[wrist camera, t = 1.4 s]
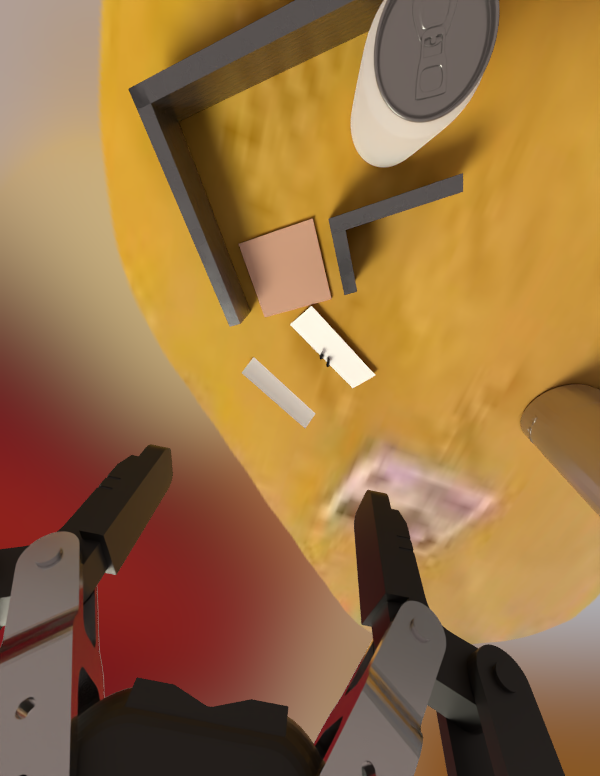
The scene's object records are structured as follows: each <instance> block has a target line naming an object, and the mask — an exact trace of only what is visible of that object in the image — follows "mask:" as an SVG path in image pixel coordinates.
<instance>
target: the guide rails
mask: <svg viewBox="0 0 600 776" xmlns="http://www.w3.org/2000/svg"><path fill="white" fill-rule="evenodd" d="M382 2H383V0H295V1H293V2H291V3H289V4H287V5H285V6H284V7H282V8H280V9H278V10H276V11H274V12H272V13H270V14H268V15H267V16H265V17H263V18H261V19H259V20H257V21H255V22H253V23H252V24H250V25H248V26H246V27H244V28H242V29H240V30H238V31H236V32H235V33H233V34H231V35H229V36H227V37H225V38H223V39H221V40H220V41H218V42H216V43H214V44H212V45H210V46H208V47H206V48H204V49H203V50H201V51H199V52H197V53H195V54H193V55H191V56H189V57H187V58H186V59H184V60H182V61H180V62H178V63H176V64H174V65H172V66H171V67H169V68H167V69H165V70H163V71H161V72H159V73H157V74H155V75H154V76H152V77H150V78H148V79H146V80H144V81H142V82H140V83H139V84H137V85H135V86H133V87H131V88H129V91H130V94H131V96H132V99H133V101H134V103H135V106H136V108H137V110H138V113H139V115H140V117H141V120H142V122H143V124H144V127H145V129H146V131H147V134H148V136H149V138H150V141H151V143H152V145H153V148H154V150H155V152H156V155H157V157H158V159H159V162H160V164H161V166H162V169H163V171H164V174H165V176H166V178H167V181H168V183H169V185H170V188H171V190H172V192H173V195H174V197H175V199H176V202H177V204H178V206H179V209H180V211H181V213H182V216H183V218H184V220H185V223H186V225H187V227H188V230H189V232H190V234H191V237H192V239H193V241H194V244H195V246H196V249H197V251H198V253H199V256H200V258H201V260H202V263H203V265H204V267H205V270H206V272H207V274H208V277H209V279H210V281H211V284H212V286H213V288H214V291H215V293H216V295H217V298H218V300H219V302H220V305H221V307H222V309H223V312H224V314H225V316H226V319H227V321H228V324H229V326H234V325H237V324H240V323H241V322H242V321H243V320H244V319H245V318H246V316H247V315H248V314H249V313H250V312H251V311H250V309H249V306H248V304H247V301H246V298H245V296H244V293H243V290H242V288H241V285H240V282H239V280H238V277H237V275H236V272H235V269H234V267H233V264H232V261H231V259H230V256H229V253H228V251H227V248H226V246H225V243H224V240H223V238H222V235H221V232H220V230H219V227H218V224H217V222H216V219H215V217H214V214H213V211H212V209H211V206H210V203H209V201H208V198H207V195H206V193H205V190H204V188H203V185H202V182H201V180H200V177H199V174H198V172H197V169H196V166H195V164H194V161H193V159H192V156H191V153H190V151H189V148H188V145H187V143H186V140H185V138H184V135H183V132H182V130H181V127H180V124H179V122H178V121H180V120H183V119H185V118H187V117H189V116H191V115H193V114H195V113H197V112H199V111H201V110H204V109H206V108H208V107H210V106H212V105H214V104H216V103H218V102H220V101H222V100H225V99H227V98H229V97H231V96H233V95H235V94H237V93H239V92H241V91H243V90H246V89H248V88H250V87H252V86H254V85H256V84H258V83H260V82H262V81H264V80H266V79H269V78H271V77H273V76H275V75H277V74H279V73H281V72H283V71H285V70H287V69H290V68H292V67H294V66H296V65H298V64H300V63H302V62H304V61H306V60H308V59H311V58H313V57H315V56H317V55H319V54H321V53H323V52H325V51H327V50H329V49H332V48H334V47H336V46H338V45H340V44H342V43H344V42H346V41H348V40H350V39H353V38H355V37H357V36H359V35H361V34H363V33H365V32H367V31H369V30H370V27H371V25H372V22H373V20H374V18H375V15H376V13H377V11H378V9H379V7H380V6H381V4H382ZM460 192H463V173H462V174H459V175H456V176H453V177H450V178H447V179H444V180H442V181H439V182H436V183H433V184H430V185H427V186H424V187H421V188H418V189H415V190H412V191H409V192H406V193H403V194H400V195H397V196H394V197H392V198H389V199H386V200H383V201H380V202H377V203H374V204H371V205H368V206H365V207H362V208H359V209H356V210H353V211H350V212H347V213H345V214H342V215H339V216H336V217H333V218H330V219H329V223H330V228H331V233H332V237H333V242H334V247H335V252H336V257H337V261H338V266H339V271H340V276H341V280H342V285H343V290H344V295H347V294H350V293H354V292H357V288H356V283H355V278H354V272H353V267H352V262H351V256H350V251H349V246H348V240H347V235H346V230H347V229H350V228H353V227H356V226H359V225H362V224H365V223H368V222H371V221H374V220H377V219H381V218H384V217H387V216H390V215H393V214H396V213H399V212H402V211H405V210H408V209H411V208H414V207H417V206H420V205H423V204H426V203H430V202H433V201H436V200H439V199H442V198H445V197H448V196H451V195H454V194H457V193H460Z"/></svg>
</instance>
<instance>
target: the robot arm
mask: <svg viewBox="0 0 600 776" xmlns="http://www.w3.org/2000/svg"><path fill="white" fill-rule="evenodd" d="M521 428H522V431H523V432H524V433H525V435H526V436H527V437H528V438H529V439H530V441H531V442H532V443H533V444H534V445H535V446H536V447H537V448H538V449H539V450H540V451H541V452H542V454H543V455H544V456H545V457H546V458H547V459H548V460H549V461H550V463H551V464H552V465H553V466H554V467H555V468H556V469H557V470H558V471H559V472H560V473H561V475H562V476H563V477H564V478H565V479H566V480H567V481H568V482H569V483H570V484H571V486H572V487H573V488H574V489H575V490H576V491H577V492H578V493H579V494H580V495H581V497H582V498H583V499H584V500H585V501H586V502H587V503H588V504H589V505H590V506H591V508H592V509H593V510H594V511H595V512H596V513H597V514H598V515H599V516H600V389H596V388H594V387H591V386H589V385H583V384H570V385H564V386H560V387H557V388H554V389H552V390H549V391H547V392H545V393H543V394H542V395H540V396H539V397H537V398H536V399H535V400H534V401H532V402H531V403H530V404H529V406H528V407H527V408H526V409H525V411H524V413H523V415H522V418H521ZM172 476H173V472H172V459H171V450H170V448H166V447H160V446H156V445H148V446H147V447H146V448H145V449H144V451H143V452H142V453H141V454H140V456H134V455H131V456H130V457H128V458H127V459H125V460H123V461H122V462H120V463H119V464H117V466H116V467H115V468H114V469H113V470H112V471H111V472H110V473H109V475H108V477H107V478H105V479H104V480H103V481H102V483H101V484H100V485H99V487H98V488H96V490H95V491H94V492H93V493H92V494H91V495H90V496H89V498H88V499H87V500H86V501H85V502H84V503H83V504H82V506H81V507H80V508H79V509H78V510H77V511H76V512H75V514H74V515H73V516H72V517H71V518H70V519H69V520H68V522H67V523H66V524H65V525H64V526H63V527H62V528H61V529H60V530H59V531H57V532H55V533H51V534H49V535H46V536H44V537H42V538H40V539H38V540H37V541H35V542H34V543H32V544H31V545H29V546H23V547H16V548H8V549H0V630H1V628H2V627H3V626H5V625H6V626H5V632H4V638H3V642H2V645H1V648H0V776H414V773H415V770H416V767H417V764H418V760H419V757H420V753H421V749H422V743H423V736H422V733H421V723H422V719H423V716H424V713H425V710H426V707H427V705H428V706H430V707H431V708H433V709H434V710H436V712H437V717H438V723H439V729H440V734H441V740H442V746H443V751H444V757H445V763H446V768H447V774H448V776H565V774H564V772H563V769H562V767H561V764H560V762H559V759H558V757H557V754H556V751H555V749H554V746H553V744H552V741H551V739H550V736H549V734H548V731H547V728H546V726H545V723H544V721H543V718H542V715H541V713H540V710H539V708H538V705H537V703H536V700H535V698H534V695H533V692H532V690H531V687H530V685H529V683H528V680H527V678H526V676H525V675H524V673H523V671H522V670H521V668H520V667H519V666H518V664H517V663H516V662H515V661H514V660H513V659H512V658H511V656H509V655H508V654H507V653H506V652H505V651H503V650H502V649H500V648H498V647H496V646H493V645H484V646H482V647H480V648H479V649H478V648H476V647H475V646H473V645H471V644H470V643H468V642H466V641H465V640H463V639H461V638H459V637H458V636H456V635H454V634H453V633H451V632H450V631H448V630H447V629H446V628H444V627H443V626H442V625H441V623H440V621H439V619H438V618H437V616H436V615H435V614H434V613H433V612H432V611H431V610H430V608H429V606H428V604H427V601H426V598H425V594H424V590H423V586H422V582H421V578H420V574H419V570H418V566H417V562H416V558H415V555H414V553H413V547H412V543H411V541H410V535H409V531H408V527H407V523H406V522H405V520H404V519H403V517H402V515H401V514H400V512H399V510H394V509H391V507H390V502H389V497H388V495H387V494H386V493H381V492H376V491H371V490H367V491H366V493H365V495H364V497H363V499H362V501H361V503H360V505H359V508H358V510H357V512H356V515H355V520H354V532H355V545H356V558H357V571H358V584H359V597H360V610H361V623H362V625H366V626H371V627H372V634H373V640H372V641H371V643H370V645H369V646H368V649H367V650H366V652H365V654H364V656H363V658H362V659H361V661H360V663H359V665H358V667H357V669H356V670H355V673H354V674H353V676H352V678H351V680H350V682H349V684H348V685H347V687H346V689H345V691H344V693H343V695H342V696H341V698H340V699H339V701H338V703H337V704H336V706H335V707H334V708H333V710H332V712H331V713H330V715H329V717H328V718H327V720H326V722H325V724H324V725H323V727H322V729H321V731H320V733H319V735H318V736H317V738H316V740H315V742H314V744H313V742H312V741H311V739H310V738H309V736H308V735H307V734H306V733H305V731H304V730H303V729H302V728H301V727H300V726H299V725H298V724H297V723H296V722H295V721H293V720H292V719H290V718H289V717H288V716H287V714H288V706H283V705H277V704H273V703H267V702H262V701H257V700H252V699H251V700H246V701H241V702H236V703H230V704H225V705H220V706H215V707H208V706H206V705H204V704H203V703H201V702H200V701H198V700H197V699H195V698H194V697H192V696H190V695H189V694H188V693H186V692H184V691H183V690H182V689H180V688H179V687H177V686H175V685H173V684H168V683H163V682H157V681H152V680H147V679H142V678H136V681H135V683H134V685H133V688H128V689H125V690H122V691H119V692H116V693H114V694H112V695H110V696H108V697H106V698H104V679H103V668H102V662H101V657H100V650H99V626H98V596H97V584H98V583H99V581H100V580H101V578H102V576H103V575H104V573H110V574H115V575H116V574H117V573H118V571H119V569H120V568H121V566H122V564H123V563H124V561H125V560H126V558H127V556H128V555H129V553H130V551H131V550H132V548H133V546H134V545H135V543H136V541H137V540H138V538H139V536H140V535H141V533H142V531H143V530H144V528H145V527H146V525H147V523H148V521H149V520H150V518H151V517H152V515H153V513H154V512H155V510H156V508H157V507H158V505H159V503H160V501H161V500H162V498H163V497H164V495H165V493H166V492H167V490H168V488H169V486H170V484H171V481H172Z"/></svg>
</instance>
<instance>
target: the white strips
mask: <svg viewBox="0 0 600 776" xmlns="http://www.w3.org/2000/svg"><path fill="white" fill-rule="evenodd" d="M290 325H291V326H292V327H293V328H294V329H295V330H296V331H297V332H298V333H299V334H300V335H301V336H302V337H303V338H304V339H305V340H306V341H307V342H308V343H309V344H310V345H311V346H312V347H313V348H314V349H315V350H316V351H317V352H318V353H319V354H320V359H323V358H324V359H325V360H326V361H327V364H326V365H327V367H329V366H331V367H332V368H333V369H334V370H335V371H336V372H337V373H338V374H339V375H340V376H341V377H342V378H343V379H344V380H345V381H346V382H347V383H348V384H349V385H350V386H351V387H352V388H354V387H356V386H358V385H359V384H361V383H363V382H365V381H366V380H368V379H370V378H371V377H373V376H375V374H374V373H373V372H372V371H371V370H370V369H369V368H368V366H367V365H366V364H365V363H364V362H363V361H362V360H361V359H360V358H359V357H358V356H357V355H356V353H355V352H354V351H353V350H352V349H351V348H350V347H349V346H348V345H347V344H346V343H345V342H344V340H343V339H342V338H341V337H340V336H339V335H338V334H337V333H336V332H335V331H334V330H333V329H332V327H331V326H330V325H329V324H328V323H327V322H326V321H325V320H324V319H323V318H322V317H321V316H320V314H319V313H318V312H317V311H316V310H315V309H314V308H313V307H312V306H311V307H309V308H308V309H307V310H306V311H305V312H304V313H303V314H302V315H300V316H299V317H298V318H297V319H296V320H295V321H294V322H292V323H291V324H290ZM242 374H243V375H245V376H246V377H247V378H248V379H249V380H250V381H251V382H253V383H254V384H255V385H256V386H257V387H258V388H259V389H261V390H262V391H263V392H264V393H265V394H266V395H267V396H269V397H270V398H271V399H272V400H273V401H274V402H275V403H277V404H278V405H279V406H280V407H281V408H282V409H283V410H285V411H286V412H287V413H288V414H289V415H290V416H291V417H293V418H294V419H295V420H296V421H297V422H298V423H300V424H301V425H302V426H303V427H304V428H306V426H307V425H308V424H309V422H310V421H311V419H312V418H313V416H314V415H315V413H314V412H313V411H312V410H311V409H310V408H309V407H308V406H307V405H305V404H304V403H303V402H302V401H301V400H300V399H299V398H298V397H297V396H296V395H295V394H293V393H292V392H291V391H290V390H289V389H288V388H287V387H286V386H285V385H284V384H282V383H281V382H280V381H279V380H278V379H277V378H276V377H275V376H274V375H273V374H272V373H270V372H269V371H268V370H267V369H266V368H265V367H264V366H263V365H262V364H261V363H260V362H258V361H257V360H256V359H255V358H254V357H253V359H252V360H251V361H250V362H249V364H248V365H247V366H246V368H245V369H244V370H243V372H242Z"/></svg>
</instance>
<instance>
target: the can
mask: <svg viewBox="0 0 600 776" xmlns="http://www.w3.org/2000/svg"><path fill="white" fill-rule="evenodd" d="M498 25H499V0H383V2H382V4H381V6H380V7H379V9H378V11H377V13H376V15H375V18H374V20H373V22H372V25H371V27H370V30H369V33H368V36H367V40H366V44H365V48H364V52H363V56H362V61H361V66H360V71H359V76H358V81H357V86H356V91H355V96H354V102H353V107H352V113H351V134H352V139H353V143H354V145H355V148H356V150H357V152H358V153H359V155H360V156H361V157H362V158H363V159H364V160H365V161H366V162H368V163H369V164H371V165H373V166H376V167H391V166H394V165H397V164H399V163H401V162H403V161H404V160H406V159H407V158H408V157H410V156H411V155H412V154H414V153H415V152H416V151H417V150H419V149H420V148H421V147H422V146H424V145H425V144H426V143H427V142H429V141H430V140H431V139H432V138H434V137H435V136H436V135H437V134H438V133H440V132H441V131H442V130H443V129H444V128H446V127H447V126H448V125H449V124H450V123H451V122H452V121H453V120H454V119H455V118H456V117H457V116H458V115H459V114H460V113H461V111H462V110H463V109H464V108H465V106H466V105H467V104H468V102H469V101H470V99H471V98H472V96H473V94H474V93H475V91H476V89H477V87H478V85H479V83H480V81H481V78H482V76H483V73H484V71H485V69H486V67H487V65H488V62H489V60H490V57H491V55H492V52H493V48H494V45H495V41H496V37H497V32H498Z"/></svg>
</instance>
